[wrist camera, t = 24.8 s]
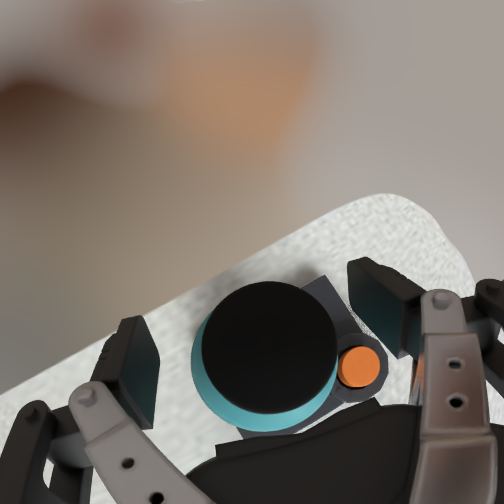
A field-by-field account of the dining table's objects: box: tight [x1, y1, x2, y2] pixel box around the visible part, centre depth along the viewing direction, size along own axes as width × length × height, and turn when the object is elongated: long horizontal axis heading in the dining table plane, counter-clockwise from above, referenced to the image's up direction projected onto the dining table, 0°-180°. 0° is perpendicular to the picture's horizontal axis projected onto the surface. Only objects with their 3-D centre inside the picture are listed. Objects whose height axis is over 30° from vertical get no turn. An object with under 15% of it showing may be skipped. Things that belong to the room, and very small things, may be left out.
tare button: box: [337, 346, 380, 387], centre depth 23 cm, size 4×4×2 cm
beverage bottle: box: [191, 281, 338, 432], centre depth 16 cm, size 6×7×20 cm
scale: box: [236, 275, 389, 439], centre depth 26 cm, size 15×13×4 cm
